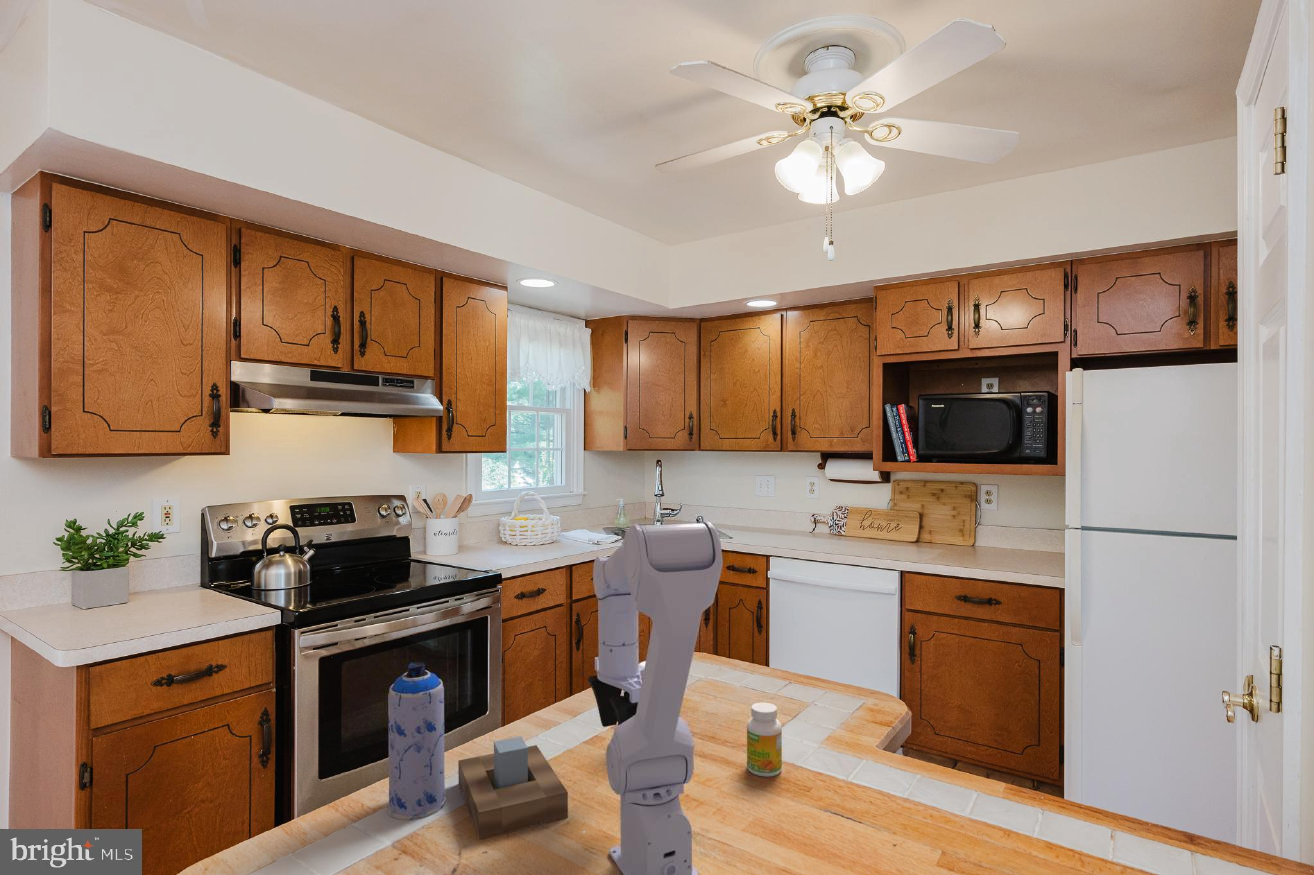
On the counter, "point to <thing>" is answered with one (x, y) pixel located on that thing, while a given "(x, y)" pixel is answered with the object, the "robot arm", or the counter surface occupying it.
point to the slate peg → (510, 762)
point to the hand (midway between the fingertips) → (618, 735)
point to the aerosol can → (416, 744)
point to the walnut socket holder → (511, 795)
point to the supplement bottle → (764, 740)
